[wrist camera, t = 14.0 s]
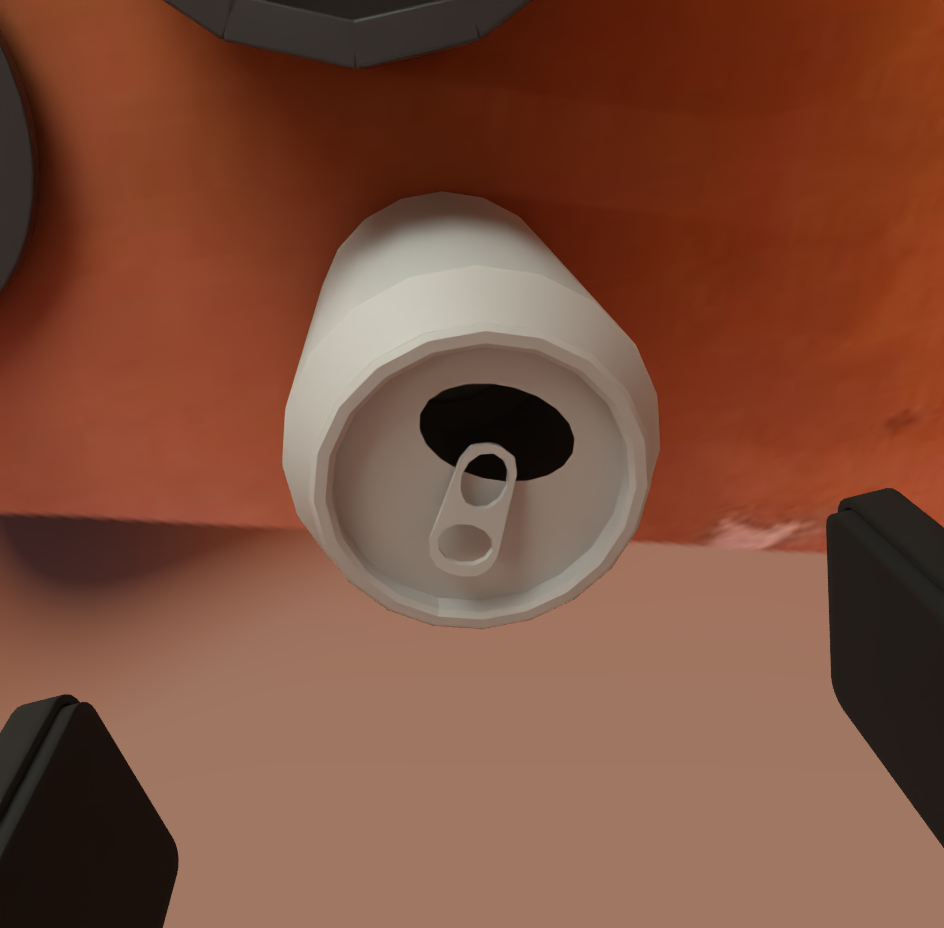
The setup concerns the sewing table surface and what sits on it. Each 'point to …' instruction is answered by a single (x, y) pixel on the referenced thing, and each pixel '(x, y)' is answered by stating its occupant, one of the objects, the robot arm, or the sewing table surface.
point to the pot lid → (15, 168)
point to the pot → (351, 26)
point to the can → (466, 418)
